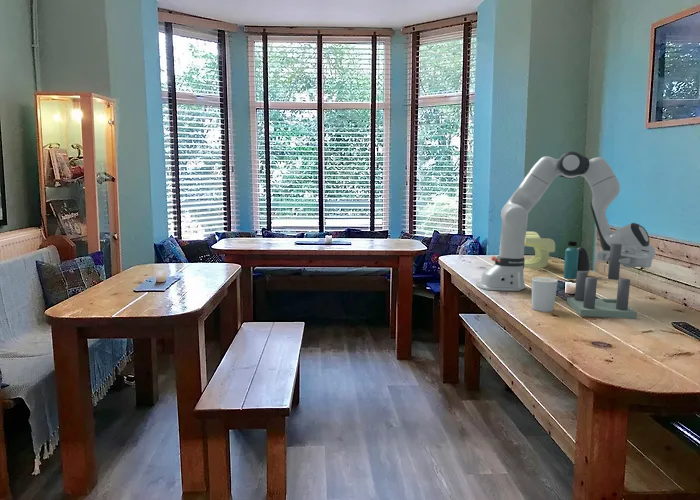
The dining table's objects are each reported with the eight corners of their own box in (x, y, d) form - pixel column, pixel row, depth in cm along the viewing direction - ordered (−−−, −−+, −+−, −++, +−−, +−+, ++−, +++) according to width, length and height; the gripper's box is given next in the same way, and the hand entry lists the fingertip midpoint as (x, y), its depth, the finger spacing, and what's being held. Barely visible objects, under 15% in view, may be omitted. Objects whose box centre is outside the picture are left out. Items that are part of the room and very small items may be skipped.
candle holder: (555, 307, 222) (557, 278, 220) (555, 313, 213) (558, 283, 211) (529, 305, 225) (531, 276, 223) (529, 310, 216) (531, 280, 214)
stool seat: (636, 318, 207) (639, 282, 205) (580, 316, 209) (583, 280, 207) (617, 305, 227) (620, 271, 224) (566, 303, 229) (569, 270, 227)
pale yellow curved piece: (553, 270, 299) (555, 238, 297) (523, 270, 300) (525, 237, 297) (537, 261, 329) (539, 231, 326) (510, 260, 330) (512, 231, 327)
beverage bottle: (578, 282, 270) (581, 242, 266) (563, 282, 271) (566, 241, 268) (575, 280, 276) (578, 240, 273) (561, 279, 277) (564, 240, 274)
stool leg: (611, 279, 219) (614, 245, 217) (605, 277, 223) (608, 243, 221) (621, 279, 220) (623, 245, 218) (614, 277, 224) (617, 243, 221)
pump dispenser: (568, 276, 284) (570, 247, 281) (568, 273, 293) (570, 245, 291) (589, 278, 280) (592, 249, 278) (589, 274, 290) (591, 246, 287)
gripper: (606, 246, 236) (589, 249, 227) (656, 252, 220) (640, 255, 211) (605, 260, 237) (588, 264, 228) (654, 267, 221) (638, 271, 212)
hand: (613, 260), depth 220 cm, fingers closed on stool leg, 4 cm apart
